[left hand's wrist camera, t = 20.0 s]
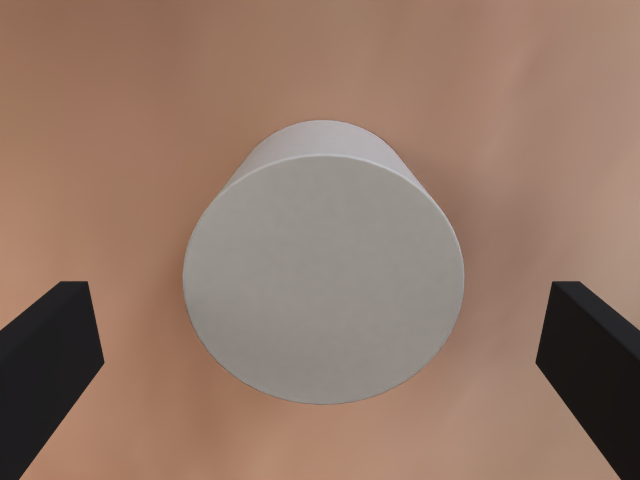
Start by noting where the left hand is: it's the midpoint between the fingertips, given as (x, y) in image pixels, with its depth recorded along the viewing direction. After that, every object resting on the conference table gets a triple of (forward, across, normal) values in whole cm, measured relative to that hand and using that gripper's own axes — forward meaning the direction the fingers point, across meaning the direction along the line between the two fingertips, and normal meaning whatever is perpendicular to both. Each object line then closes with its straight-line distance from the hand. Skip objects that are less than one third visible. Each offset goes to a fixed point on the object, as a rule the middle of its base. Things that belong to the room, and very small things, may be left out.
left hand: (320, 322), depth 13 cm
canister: (+9, 0, 0) cm, 9 cm away
